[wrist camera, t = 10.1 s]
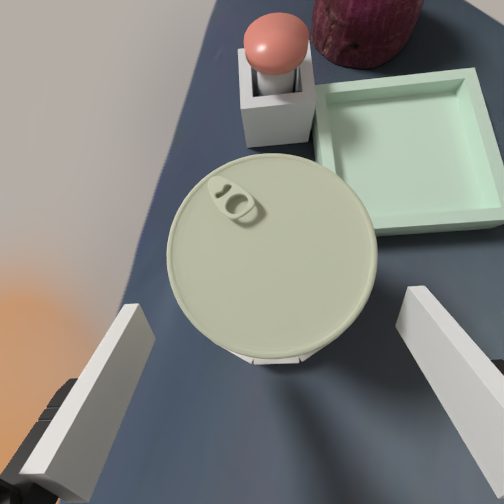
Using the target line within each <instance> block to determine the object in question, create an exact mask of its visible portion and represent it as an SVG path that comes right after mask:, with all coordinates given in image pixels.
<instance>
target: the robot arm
mask: <svg viewBox="0 0 504 504" xmlns="http://www.w3.org/2000/svg"><path fill="white" fill-rule="evenodd" d="M395 327H396V328H397V330H398V332H399V333H400V335H401V337H402V338H403V340H404V342H405V343H406V345H407V347H408V349H409V350H410V352H411V354H412V355H413V357H414V359H415V360H416V362H417V364H418V365H419V367H420V369H421V370H422V372H423V374H424V375H425V377H426V379H427V380H428V382H429V384H430V385H431V387H432V389H433V390H434V392H435V394H436V395H437V397H438V399H439V400H440V402H441V404H442V405H443V407H444V409H445V410H446V412H447V414H448V415H449V417H450V419H451V420H452V422H453V424H454V426H455V427H456V429H457V431H458V432H459V434H460V436H461V437H462V439H463V441H464V442H465V444H466V446H467V447H468V449H469V451H470V452H471V454H472V456H473V457H474V459H475V461H476V462H477V464H478V466H479V467H480V469H481V471H482V472H483V474H484V476H485V477H486V479H487V481H488V482H489V484H490V486H491V487H492V489H493V491H494V492H495V494H496V496H497V497H498V499H504V360H502V359H500V360H489V358H488V357H487V356H486V355H485V354H484V353H483V352H482V351H481V349H480V348H479V347H478V346H477V345H476V344H475V343H474V341H473V340H472V339H471V338H470V337H469V336H468V335H467V333H466V332H465V331H464V330H463V329H462V328H461V327H460V325H459V324H458V323H457V322H456V321H455V320H454V319H453V317H452V316H451V315H450V314H449V313H448V312H447V311H446V309H445V308H444V307H443V306H442V305H441V304H440V303H439V301H438V300H437V299H436V298H435V297H434V296H433V295H432V293H431V292H430V291H429V290H428V289H427V288H426V287H425V286H411V287H407V291H406V294H405V297H404V300H403V303H402V306H401V310H400V313H399V316H398V319H397V322H396V325H395ZM154 342H155V336H154V334H153V332H152V330H151V328H150V326H149V324H148V322H147V319H146V317H145V315H144V313H143V311H142V309H141V307H140V305H139V304H124V306H123V308H122V309H121V311H120V312H119V314H118V316H117V317H116V319H115V320H114V322H113V324H112V325H111V327H110V328H109V330H108V332H107V333H106V335H105V336H104V338H103V340H102V341H101V343H100V345H99V346H98V348H97V349H96V351H95V352H94V354H93V356H92V357H91V359H90V361H89V362H88V364H87V366H86V367H85V368H84V370H83V372H82V373H81V375H80V376H79V378H76V379H69V380H68V381H67V382H66V383H65V384H64V385H63V386H62V387H61V388H60V389H59V390H58V391H57V392H56V393H55V395H54V396H53V398H52V399H51V401H50V402H49V404H48V405H47V408H46V409H45V410H44V411H43V413H42V414H41V416H40V417H39V420H38V422H36V423H35V425H34V426H33V428H32V429H31V431H30V432H29V434H28V435H27V437H26V438H25V439H24V441H23V442H22V444H21V445H20V447H19V448H18V450H17V452H16V453H15V455H14V456H13V457H12V459H11V460H10V462H9V463H8V465H7V466H6V468H5V469H4V471H3V472H2V473H1V475H0V504H56V502H57V500H58V498H60V499H62V500H64V501H66V502H67V503H80V502H89V501H90V498H91V496H92V493H93V491H94V488H95V486H96V484H97V481H98V479H99V476H100V474H101V471H102V469H103V466H104V464H105V462H106V459H107V457H108V454H109V452H110V449H111V447H112V444H113V442H114V440H115V437H116V435H117V432H118V430H119V427H120V425H121V422H122V420H123V418H124V415H125V413H126V410H127V408H128V405H129V403H130V400H131V398H132V396H133V393H134V391H135V388H136V386H137V383H138V381H139V378H140V376H141V374H142V371H143V369H144V366H145V364H146V361H147V359H148V357H149V354H150V352H151V349H152V347H153V344H154Z"/></svg>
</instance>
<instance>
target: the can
mask: <svg viewBox="0 0 504 504" xmlns="http://www.w3.org/2000/svg"><path fill="white" fill-rule="evenodd" d="M377 262H378V251H377V240H376V235H375V231H374V227H373V224H372V221H371V219H370V216H369V214H368V212H367V210H366V208H365V206H364V204H363V203H362V201H361V200H360V198H359V197H358V196H357V194H356V193H355V192H354V190H353V189H352V188H351V187H350V186H349V185H348V184H347V183H346V182H345V181H344V180H343V179H341V178H340V177H339V176H338V175H337V174H335V173H334V172H332V171H331V170H329V169H328V168H326V167H324V166H322V165H320V164H318V163H316V162H314V161H311V160H308V159H305V158H302V157H298V156H294V155H288V154H278V153H268V154H257V155H251V156H247V157H243V158H240V159H237V160H234V161H231V162H229V163H227V164H225V165H223V166H221V167H219V168H218V169H216V170H214V171H213V172H211V173H210V174H208V175H207V176H206V177H205V178H203V179H202V180H201V181H200V182H199V183H198V184H197V185H196V186H195V187H194V188H193V189H192V190H191V192H190V193H189V194H188V195H187V197H186V198H185V199H184V201H183V203H182V204H181V206H180V207H179V209H178V211H177V213H176V215H175V218H174V221H173V223H172V226H171V229H170V233H169V238H168V244H167V268H168V275H169V280H170V284H171V287H172V290H173V293H174V295H175V297H176V300H177V302H178V304H179V306H180V307H181V309H182V310H183V312H184V314H185V315H186V316H187V318H188V319H189V320H190V321H191V323H192V324H193V325H194V326H195V327H196V328H197V329H198V330H199V331H200V332H201V333H202V334H204V335H205V336H206V337H208V338H209V339H210V340H212V341H213V342H214V343H216V344H218V345H220V346H222V347H223V348H225V349H227V350H230V351H232V352H235V353H237V354H240V355H244V356H248V357H253V358H260V359H284V358H291V357H296V356H300V355H303V354H307V353H309V352H312V351H315V350H317V349H319V348H321V347H323V346H325V345H327V344H328V343H330V342H331V341H333V340H334V339H335V338H337V337H338V336H340V335H341V334H342V333H343V332H344V331H345V330H346V329H347V328H348V327H349V326H350V325H351V324H352V323H353V322H354V321H355V319H356V318H357V317H358V315H359V314H360V313H361V311H362V310H363V308H364V306H365V304H366V302H367V301H368V298H369V296H370V293H371V291H372V288H373V285H374V281H375V277H376V272H377Z"/></svg>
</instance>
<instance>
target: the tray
mask: <svg viewBox="0 0 504 504" xmlns="http://www.w3.org/2000/svg"><path fill="white" fill-rule="evenodd" d="M315 92H316V100H317V102H316V106H315V111H314V116H313V120H312V125H311V129H312V137H313V146H314V155H315V162H316V163H318V164H320V165H322V166H324V167H326V168H328V169H329V170H331V171H332V172H334V173H335V174H337V175H338V176H339V177H340V178H341V179H343V180H344V181H345V182H346V183H347V184H348V185H349V186H350V187H351V188H352V189H353V190H354V192H355V193H356V194H357V196H358V197H359V198H360V200H361V201H362V203H363V204H364V206H365V208H366V210H367V212H368V214H369V216H370V219H371V221H372V224H373V227H374V231H375V235H376V236H390V235H404V234H419V233H434V232H448V231H463V230H478V229H491V228H494V227H497V226H500V225H503V224H504V166H503V162H502V159H501V155H500V152H499V149H498V145H497V142H496V139H495V135H494V132H493V128H492V125H491V122H490V118H489V115H488V112H487V108H486V105H485V101H484V98H483V95H482V91H481V88H480V84H479V81H478V78H477V74H476V71H475V68H466V69H457V70H448V71H439V72H430V73H421V74H412V75H403V76H394V77H385V78H376V79H367V80H358V81H349V82H340V83H331V84H322V85H315Z"/></svg>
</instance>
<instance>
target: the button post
mask: <svg viewBox="0 0 504 504" xmlns="http://www.w3.org/2000/svg"><path fill="white" fill-rule="evenodd" d="M238 60H239V82H240V103H241V113H242V120H243V126H244V132H245V138H246V144H247V148H250V147H261V146H271V145H282V144H292V143H303V142H308V139H309V134H310V130H311V125H312V120H313V116H314V111H315V106H316V102H317V100H316V92H315V84H314V76H313V68H312V60H311V52H310V44H309V42H308V49H307V54H306V57H305V59H304V60H303V62H302V63H301V64H300V65H299V66H298V67H297V68H296V69H295V70H294V81H293V92H292V93H287V94H278V95H269V96H260V97H259V92H258V77H257V71H256V70H255V69H253V68H252V67H251V66H250V65H249V63H248V62H247V59H246V56H245V48H244V49H238Z"/></svg>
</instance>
